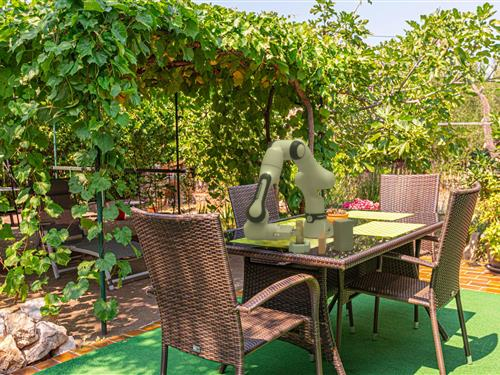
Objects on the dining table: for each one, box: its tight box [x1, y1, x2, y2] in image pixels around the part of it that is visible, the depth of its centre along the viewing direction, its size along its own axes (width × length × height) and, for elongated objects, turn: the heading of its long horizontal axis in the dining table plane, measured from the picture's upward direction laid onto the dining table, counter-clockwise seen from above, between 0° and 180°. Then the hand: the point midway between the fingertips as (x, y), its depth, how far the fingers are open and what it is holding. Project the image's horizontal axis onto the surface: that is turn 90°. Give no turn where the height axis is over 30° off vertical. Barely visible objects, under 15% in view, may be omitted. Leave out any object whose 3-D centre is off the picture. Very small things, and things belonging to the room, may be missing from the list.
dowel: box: [295, 219, 305, 244], centre depth 259 cm, size 4×4×14 cm
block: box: [288, 240, 311, 254], centre depth 260 cm, size 10×14×4 cm
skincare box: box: [332, 218, 354, 253], centre depth 257 cm, size 8×7×16 cm
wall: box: [317, 232, 327, 255], centre depth 257 cm, size 3×18×8 cm, turn 169°
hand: (301, 232), depth 259 cm, fingers closed on dowel, 4 cm apart
